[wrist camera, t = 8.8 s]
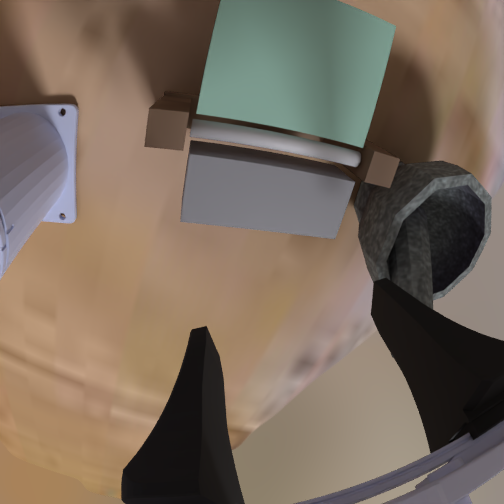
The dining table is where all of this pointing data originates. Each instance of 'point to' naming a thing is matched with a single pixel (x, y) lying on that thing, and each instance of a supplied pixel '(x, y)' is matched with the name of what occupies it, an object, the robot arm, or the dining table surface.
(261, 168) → the trapdoor
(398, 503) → the robot arm
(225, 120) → the frame
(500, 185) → the dining table surface
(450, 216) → the mortar and pestle
